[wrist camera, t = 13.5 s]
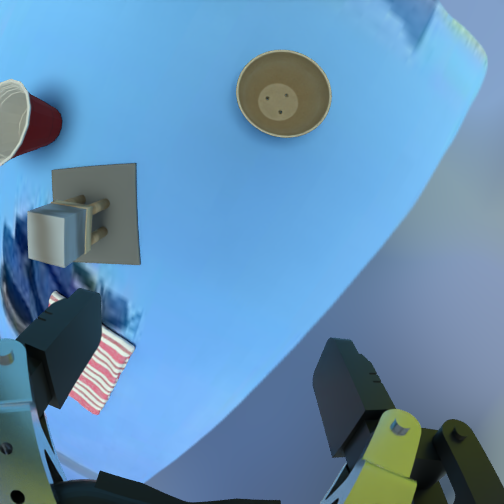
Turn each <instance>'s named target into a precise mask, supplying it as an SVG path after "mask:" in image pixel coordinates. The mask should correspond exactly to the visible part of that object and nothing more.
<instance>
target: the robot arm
mask: <svg viewBox="0 0 504 504" xmlns="http://www.w3.org/2000/svg"><path fill="white" fill-rule="evenodd" d="M101 337H102V317H101V296H100V294H99V293H97V292H93V291H89V290H86V289H82V288H79V289H77V290H76V291H75V292H74V293H73V294H72V295H71V296H70V297H69V298H68V299H67V298H63V299H61V300H58V301H56V302H54V303H52V304H51V305H50V306H49V307H48V308H47V309H46V310H45V312H43V313H42V314H41V315H40V316H39V317H38V319H35V320H34V321H33V322H32V323H31V324H30V325H29V326H28V327H27V328H26V329H25V330H24V331H23V332H22V333H21V334H20V335H19V336H18V338H17V339H16V340H14V339H0V504H281V502H280V500H250V499H230V500H220V501H208V502H194V503H192V502H185V501H182V500H180V499H177V498H175V497H172V496H170V495H168V494H165V493H163V492H160V491H159V490H156V489H154V488H152V487H150V486H148V485H145V484H143V483H140V482H136V481H133V480H129V479H126V478H122V477H119V476H116V475H112V474H109V473H106V472H103V471H100V472H99V475H98V478H97V480H90V479H79V480H69V481H67V478H66V476H65V474H64V472H63V469H62V467H61V465H60V462H59V460H58V457H57V453H56V450H55V447H54V444H53V440H52V437H51V433H50V429H49V425H48V421H47V417H46V414H45V409H46V408H47V406H48V404H49V405H51V406H54V407H56V408H58V409H61V407H62V405H63V404H64V402H65V400H66V399H67V397H68V395H69V393H70V392H71V390H72V388H73V387H74V385H75V383H76V382H77V380H78V378H79V377H80V375H81V374H82V372H83V370H84V369H85V367H86V366H87V364H88V362H89V361H90V359H91V358H92V356H93V354H94V353H95V351H96V350H97V348H98V346H99V344H100V341H101ZM376 374H377V373H376V371H375V369H374V367H373V365H372V363H371V362H370V361H368V360H367V359H366V358H365V357H364V356H363V355H362V354H359V353H358V351H357V349H356V348H355V346H354V344H353V342H352V341H351V340H349V339H340V338H329V339H328V341H327V343H326V345H325V348H324V350H323V352H322V355H321V357H320V360H319V362H318V364H317V367H316V369H315V371H314V375H313V388H314V392H315V395H316V399H317V403H318V406H319V410H320V414H321V417H322V421H323V425H324V428H325V432H326V436H327V440H328V443H329V447H330V451H331V455H332V458H334V457H346V461H347V462H346V464H345V465H344V466H343V467H342V469H341V471H340V472H339V474H338V476H337V478H336V479H335V481H334V483H333V484H332V486H331V487H330V489H329V490H328V492H327V493H326V495H325V497H324V498H323V500H322V501H321V503H320V504H448V503H447V500H446V498H445V495H444V493H443V490H442V488H441V485H440V483H439V480H440V479H441V478H442V477H443V476H444V475H445V474H446V473H447V475H448V477H449V480H450V482H451V484H452V487H453V489H454V491H455V501H454V503H453V504H504V488H503V485H502V484H501V482H500V480H499V478H498V476H497V474H496V472H495V470H494V468H493V466H492V464H491V463H490V461H489V459H488V457H487V456H486V453H485V452H484V450H483V448H482V447H481V445H480V443H479V441H478V440H477V438H476V436H475V434H474V433H473V431H472V430H471V429H470V427H469V426H468V425H467V424H465V423H464V422H461V421H459V420H455V419H451V420H447V421H446V422H445V423H444V424H443V425H442V426H441V428H440V429H439V430H433V429H426V428H421V426H420V424H419V422H418V420H417V419H416V418H415V417H414V416H413V415H411V414H410V413H408V412H406V411H403V410H399V409H396V408H395V406H394V404H393V402H392V400H391V399H390V397H389V395H388V393H387V391H386V390H385V387H384V386H383V384H382V383H381V380H380V378H379V376H378V375H376Z"/></svg>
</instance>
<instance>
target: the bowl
mask: <svg viewBox="0 0 504 504" xmlns="http://www.w3.org/2000/svg"><path fill="white" fill-rule="evenodd" d="M285 94H287V95H286V96H285ZM236 96H237V102H238V105H239V108H240V110H241V112H242V113H243V115H244V116H245V118H246V119H247V120H248V121H249V122H250V123H251V124H252V125H253V126H254V127H256V128H257V129H259V130H260V131H262V132H264V133H266V134H269V135H272V136H276V137H283V138H290V137H297V136H301V135H304V134H306V133H308V132H310V131H312V130H314V129H315V128H316V127H317V126H319V125H320V124H321V123H322V121H323V120H324V119H325V117H326V115H327V114H328V111H329V108H330V105H331V97H332V95H331V87H330V83H329V80H328V78H327V76H326V74H325V73H324V71H323V70H322V69H321V67H320V66H319V65H318V64H317V63H316V62H315V61H313V60H312V59H310V58H309V57H307V56H305V55H303V54H301V53H298V52H295V51H290V50H274V51H269V52H266V53H263V54H260V55H258V56H257V57H255V58H254V59H252V60H251V61H250V62H249V63H248V64H247V65H246V66H245V67H244V69H243V70H242V72H241V74H240V76H239V78H238V82H237V87H236ZM267 98H268V99H269V100H267ZM280 111H282V113H281V112H280Z"/></svg>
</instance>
